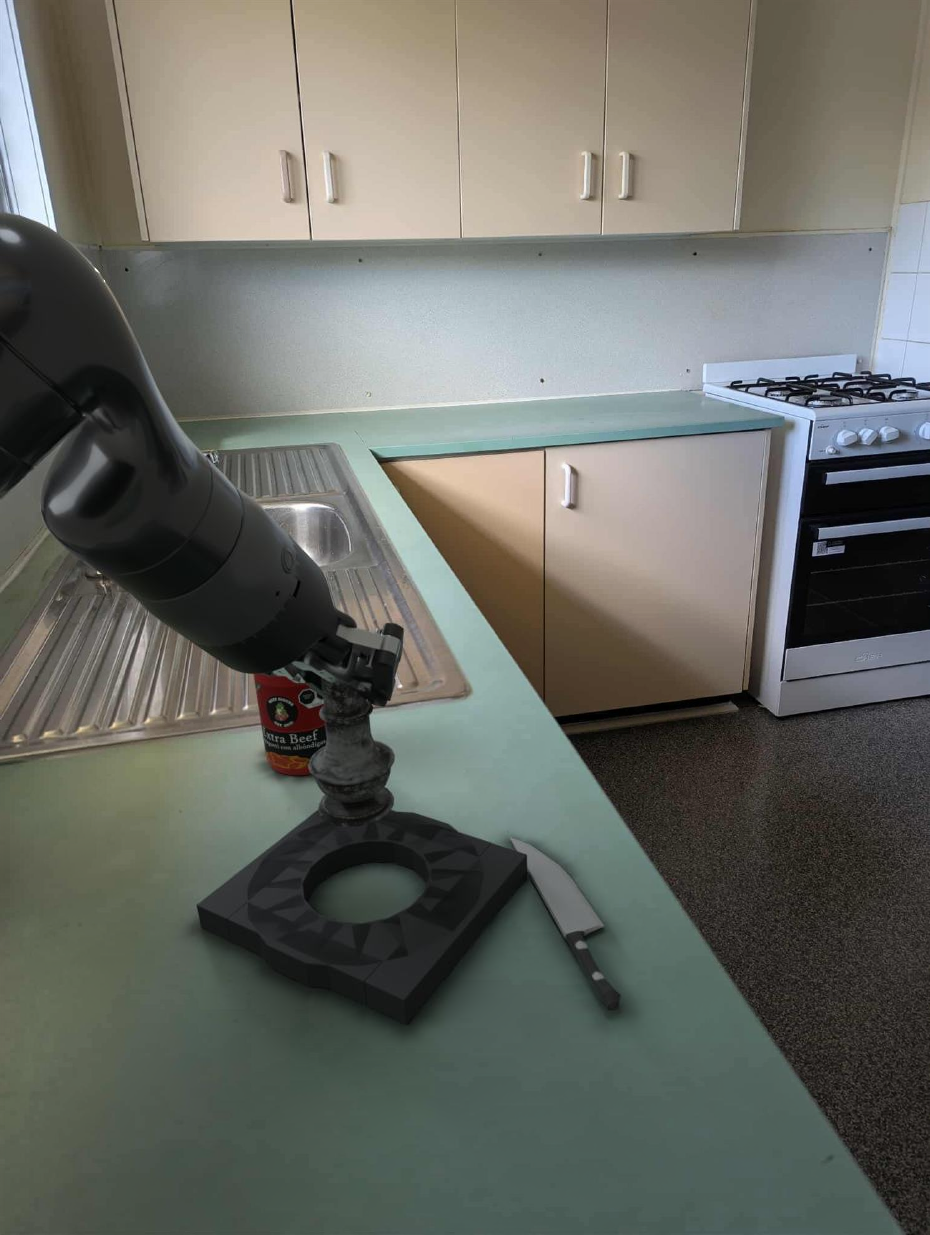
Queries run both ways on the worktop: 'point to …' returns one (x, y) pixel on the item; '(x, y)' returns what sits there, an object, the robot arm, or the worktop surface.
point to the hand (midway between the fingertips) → (360, 688)
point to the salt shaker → (351, 761)
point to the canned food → (289, 723)
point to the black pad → (377, 950)
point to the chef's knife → (569, 915)
